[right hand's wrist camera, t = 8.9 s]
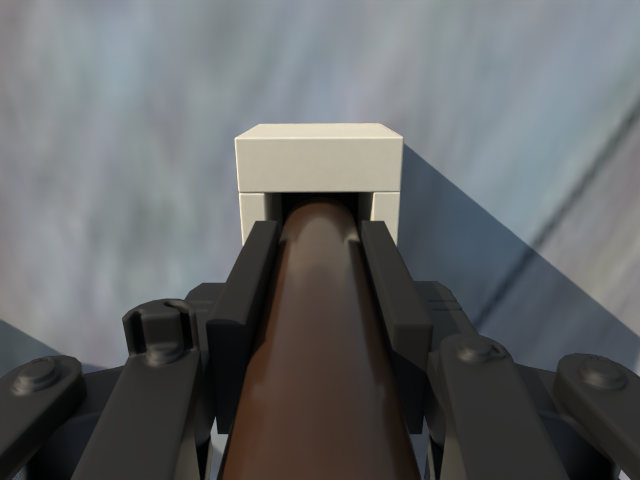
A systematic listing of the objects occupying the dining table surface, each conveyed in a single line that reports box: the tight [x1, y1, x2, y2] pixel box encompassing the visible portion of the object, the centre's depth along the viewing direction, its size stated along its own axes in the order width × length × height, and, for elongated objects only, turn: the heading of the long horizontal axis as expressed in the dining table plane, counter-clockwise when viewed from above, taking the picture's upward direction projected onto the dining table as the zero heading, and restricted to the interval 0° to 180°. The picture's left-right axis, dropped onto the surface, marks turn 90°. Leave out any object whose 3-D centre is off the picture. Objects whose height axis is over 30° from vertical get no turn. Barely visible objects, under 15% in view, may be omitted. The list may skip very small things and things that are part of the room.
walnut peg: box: [216, 196, 422, 480], centre depth 11 cm, size 3×3×14 cm
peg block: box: [235, 123, 404, 247], centre depth 21 cm, size 6×24×6 cm, turn 0°
